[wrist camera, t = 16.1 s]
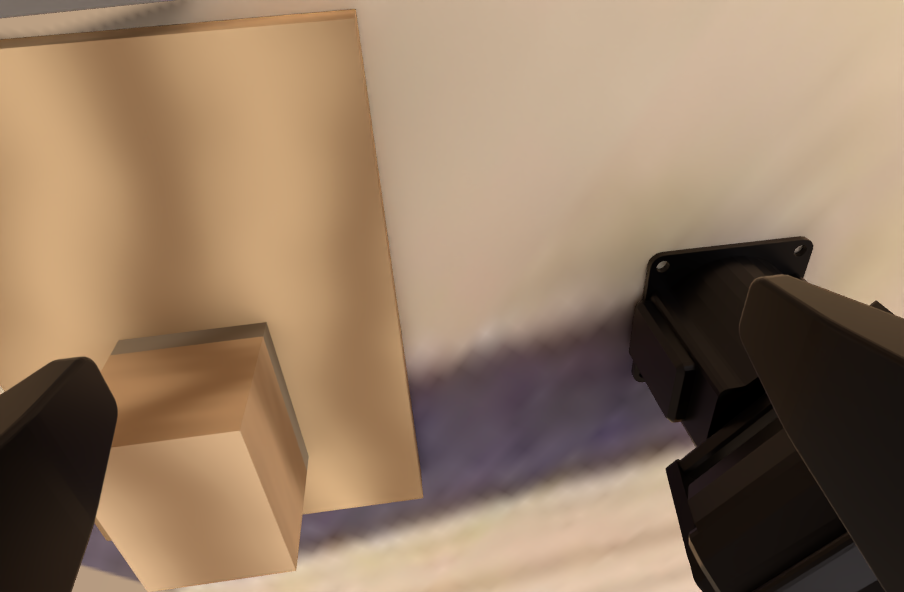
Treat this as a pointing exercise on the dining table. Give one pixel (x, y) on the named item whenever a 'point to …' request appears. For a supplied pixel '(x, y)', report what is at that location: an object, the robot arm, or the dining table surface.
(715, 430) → the robot arm
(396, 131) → the dining table surface
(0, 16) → the graphite stick
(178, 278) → the oak board
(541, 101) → the dining table surface
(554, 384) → the dining table surface
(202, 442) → the tan rectangular block
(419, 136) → the dining table surface
